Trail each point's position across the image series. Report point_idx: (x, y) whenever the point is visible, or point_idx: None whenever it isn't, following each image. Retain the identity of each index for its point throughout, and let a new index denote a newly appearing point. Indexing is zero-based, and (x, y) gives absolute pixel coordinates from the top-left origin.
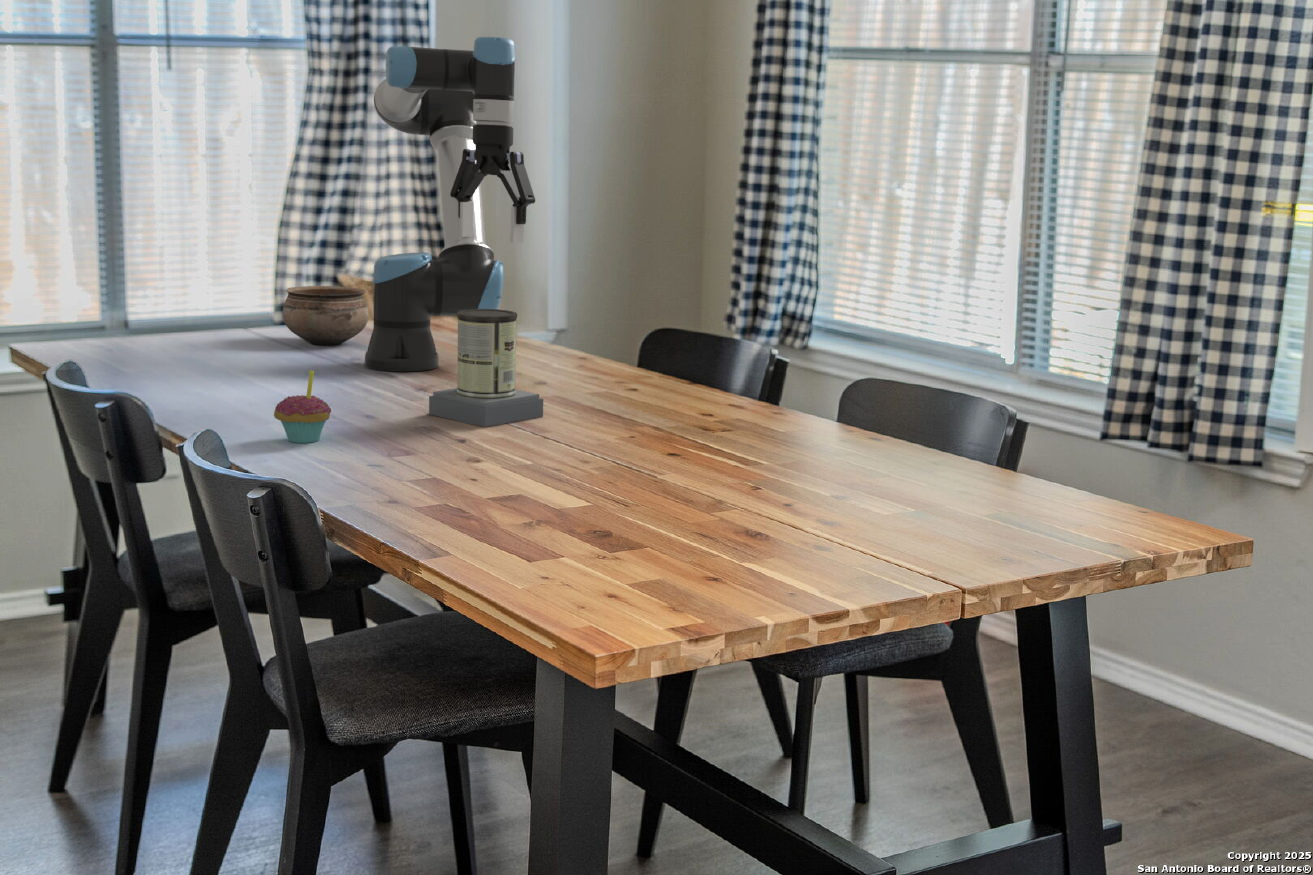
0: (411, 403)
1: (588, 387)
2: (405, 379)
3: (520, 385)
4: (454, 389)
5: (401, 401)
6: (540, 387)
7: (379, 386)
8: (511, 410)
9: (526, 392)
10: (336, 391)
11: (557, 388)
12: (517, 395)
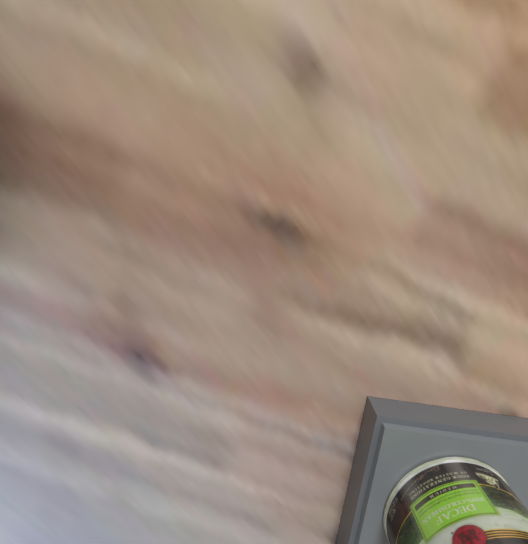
0: (236, 487)
1: (441, 28)
2: (13, 280)
3: (282, 139)
4: (370, 529)
5: (206, 485)
6: (339, 126)
7: (43, 392)
8: None
9: (518, 454)
10: (26, 495)
11: (382, 106)
12: (519, 493)
